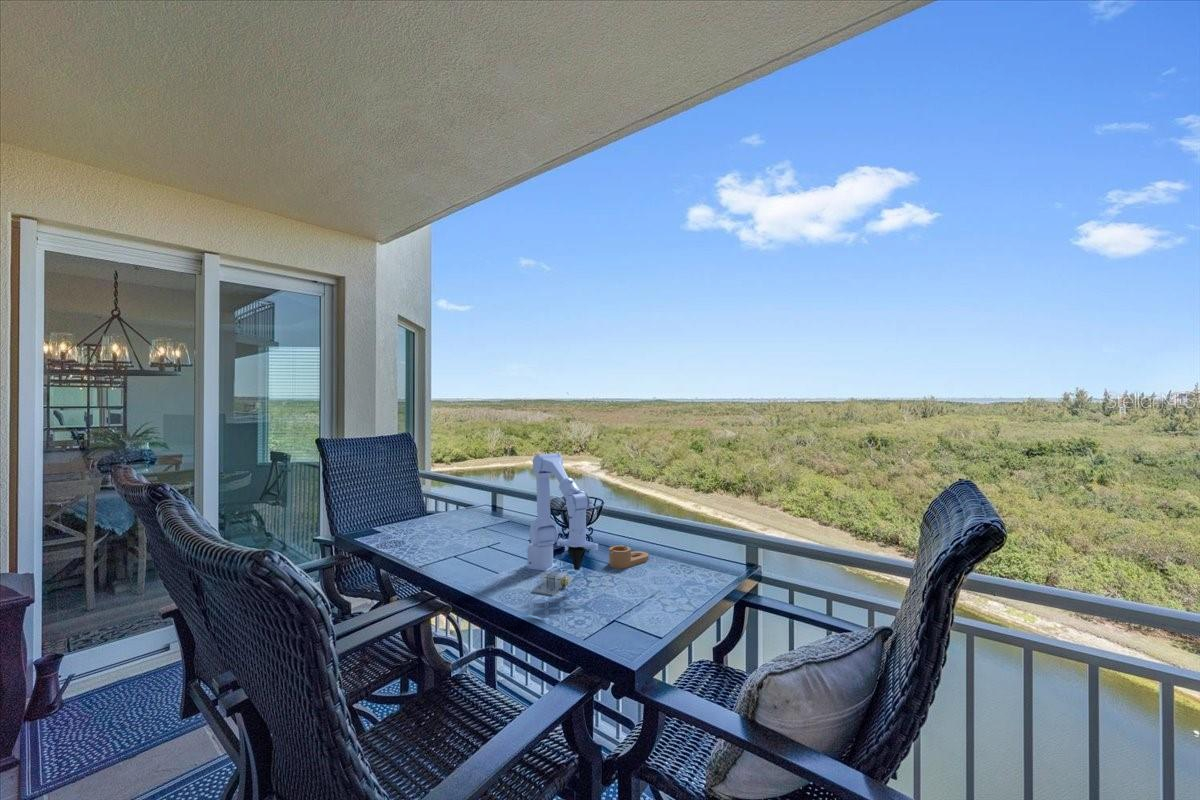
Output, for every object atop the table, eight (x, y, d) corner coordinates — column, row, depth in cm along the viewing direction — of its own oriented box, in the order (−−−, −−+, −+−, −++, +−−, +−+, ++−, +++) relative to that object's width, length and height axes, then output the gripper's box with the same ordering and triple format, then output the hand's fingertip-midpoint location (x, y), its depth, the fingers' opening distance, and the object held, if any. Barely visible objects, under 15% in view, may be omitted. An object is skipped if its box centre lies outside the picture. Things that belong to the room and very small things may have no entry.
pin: (542, 583, 165) (542, 575, 165) (545, 580, 168) (545, 573, 168) (565, 586, 162) (565, 579, 162) (568, 584, 164) (568, 576, 164)
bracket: (619, 571, 179) (619, 553, 179) (605, 566, 186) (605, 548, 186) (652, 561, 191) (652, 544, 191) (638, 556, 197) (638, 539, 197)
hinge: (532, 592, 159) (532, 580, 159) (554, 575, 174) (554, 564, 174) (552, 595, 156) (552, 583, 156) (573, 578, 171) (573, 567, 171)
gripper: (553, 529, 161) (552, 569, 161) (592, 534, 156) (592, 575, 156) (562, 524, 168) (562, 563, 168) (600, 528, 162) (600, 568, 162)
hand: (577, 568), depth 162 cm, fingers closed
